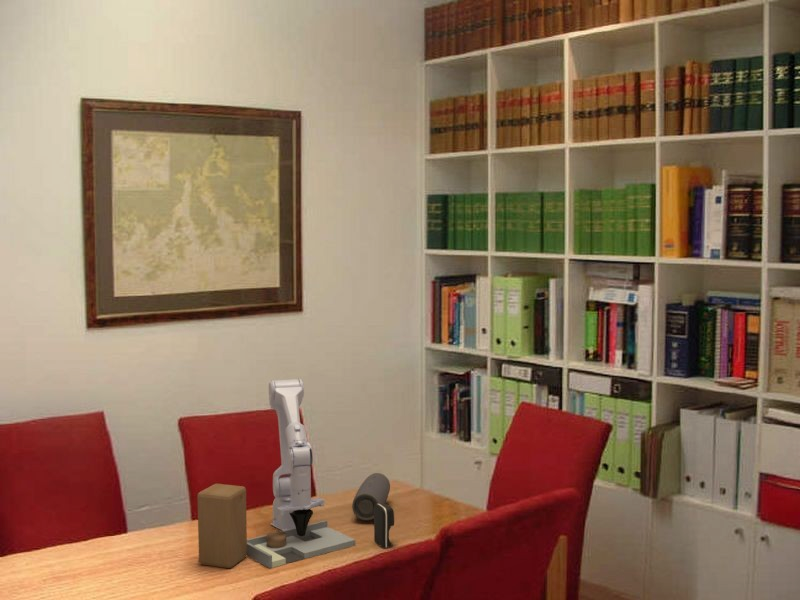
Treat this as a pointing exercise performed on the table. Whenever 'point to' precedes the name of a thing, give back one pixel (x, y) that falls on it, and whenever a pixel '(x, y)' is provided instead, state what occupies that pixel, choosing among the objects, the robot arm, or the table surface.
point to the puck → (276, 539)
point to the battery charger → (383, 524)
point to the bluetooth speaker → (370, 495)
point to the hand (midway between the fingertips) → (301, 535)
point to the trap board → (298, 545)
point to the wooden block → (222, 525)
